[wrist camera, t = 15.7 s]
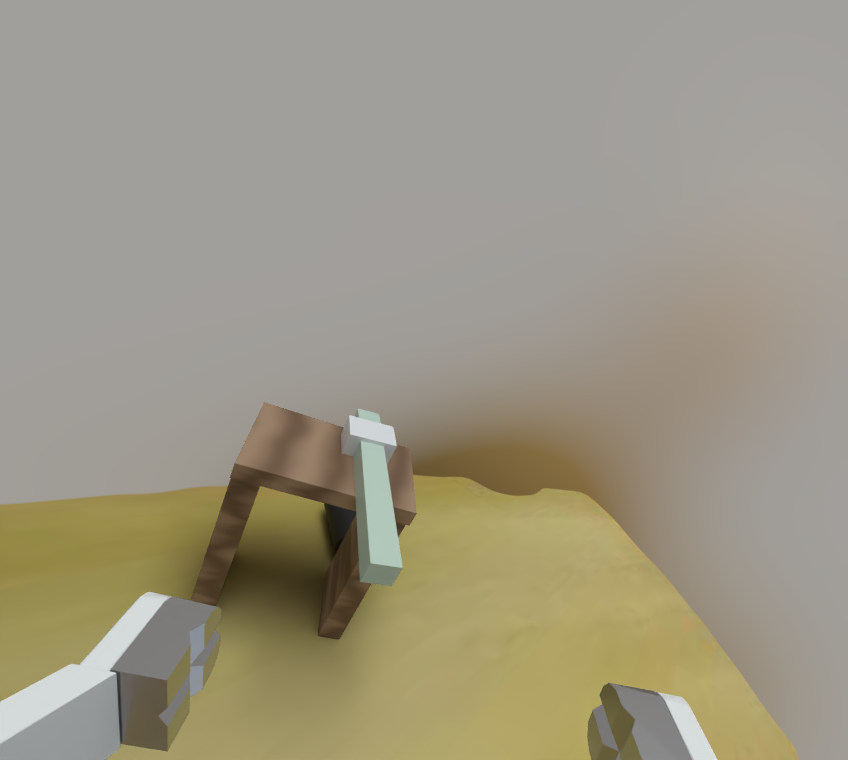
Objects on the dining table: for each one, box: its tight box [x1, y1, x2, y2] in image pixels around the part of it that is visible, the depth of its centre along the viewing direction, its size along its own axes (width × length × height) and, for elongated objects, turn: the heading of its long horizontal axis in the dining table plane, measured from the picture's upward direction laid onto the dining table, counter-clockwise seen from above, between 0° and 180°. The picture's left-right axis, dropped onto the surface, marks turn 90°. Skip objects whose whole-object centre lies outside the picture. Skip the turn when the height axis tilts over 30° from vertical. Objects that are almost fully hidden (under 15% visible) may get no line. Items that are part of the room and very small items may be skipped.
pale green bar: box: [341, 409, 403, 586], centre depth 47 cm, size 6×24×3 cm, turn 10°
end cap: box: [324, 503, 356, 553], centre depth 73 cm, size 10×7×7 cm
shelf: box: [191, 403, 416, 639], centre depth 55 cm, size 20×12×26 cm, turn 95°
